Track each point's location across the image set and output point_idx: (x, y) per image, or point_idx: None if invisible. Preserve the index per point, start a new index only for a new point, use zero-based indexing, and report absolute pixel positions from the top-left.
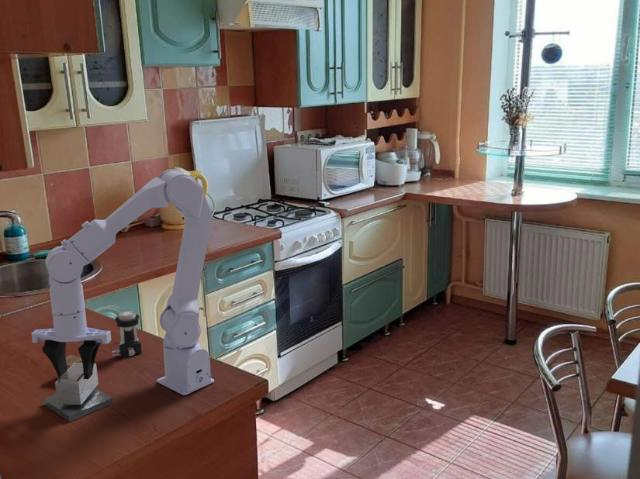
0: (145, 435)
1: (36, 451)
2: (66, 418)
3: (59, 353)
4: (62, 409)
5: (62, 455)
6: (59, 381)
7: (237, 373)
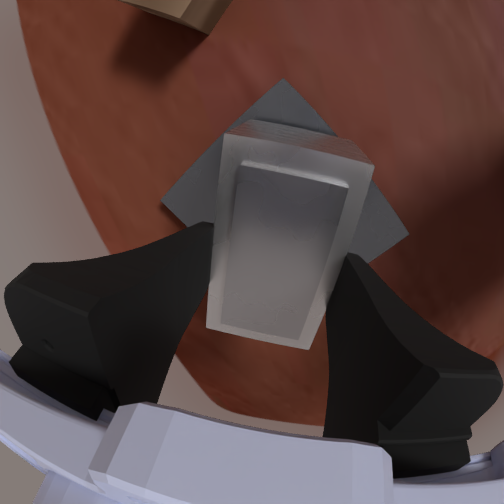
0: None
1: (244, 382)
2: None
3: (157, 355)
4: None
5: (297, 398)
6: (220, 323)
7: None
